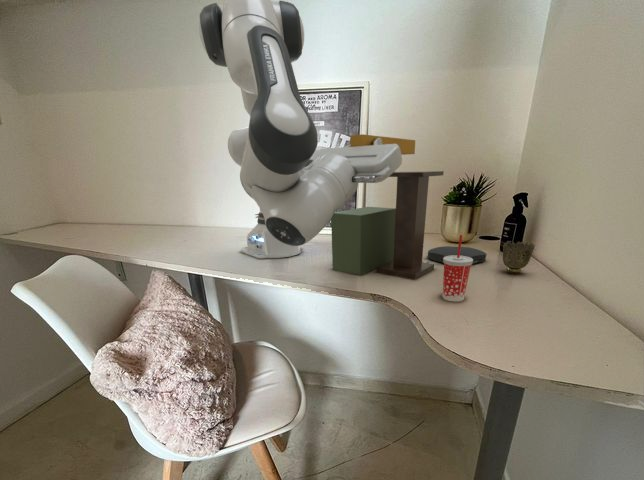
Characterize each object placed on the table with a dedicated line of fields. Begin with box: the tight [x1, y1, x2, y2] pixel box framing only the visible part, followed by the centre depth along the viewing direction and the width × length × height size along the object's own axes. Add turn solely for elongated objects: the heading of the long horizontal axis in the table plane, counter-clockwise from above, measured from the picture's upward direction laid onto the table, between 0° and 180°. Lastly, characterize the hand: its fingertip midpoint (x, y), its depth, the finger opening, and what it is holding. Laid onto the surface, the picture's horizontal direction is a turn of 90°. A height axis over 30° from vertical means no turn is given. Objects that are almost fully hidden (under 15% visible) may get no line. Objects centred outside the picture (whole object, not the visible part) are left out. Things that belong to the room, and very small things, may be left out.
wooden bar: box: [349, 133, 416, 156], centre depth 73 cm, size 3×22×3 cm, turn 141°
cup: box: [502, 240, 536, 275], centre depth 90 cm, size 8×7×8 cm
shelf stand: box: [376, 170, 444, 281], centre depth 90 cm, size 12×12×26 cm
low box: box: [330, 206, 396, 276], centre depth 98 cm, size 10×18×16 cm, turn 142°
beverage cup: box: [442, 234, 473, 303], centre depth 72 cm, size 6×6×14 cm
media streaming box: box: [427, 245, 487, 265], centre depth 105 cm, size 15×15×3 cm
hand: (369, 142), depth 68 cm, fingers closed on wooden bar, 3 cm apart
